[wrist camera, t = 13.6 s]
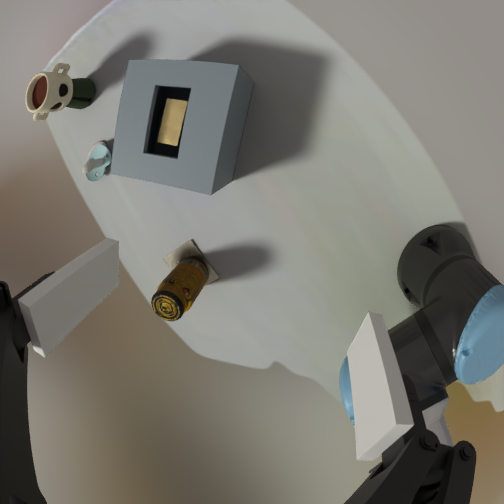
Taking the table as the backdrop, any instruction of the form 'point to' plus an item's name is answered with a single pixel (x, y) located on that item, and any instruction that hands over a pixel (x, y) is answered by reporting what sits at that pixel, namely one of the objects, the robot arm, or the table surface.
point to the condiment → (182, 282)
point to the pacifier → (97, 161)
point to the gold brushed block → (172, 122)
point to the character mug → (57, 92)
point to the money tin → (195, 125)
